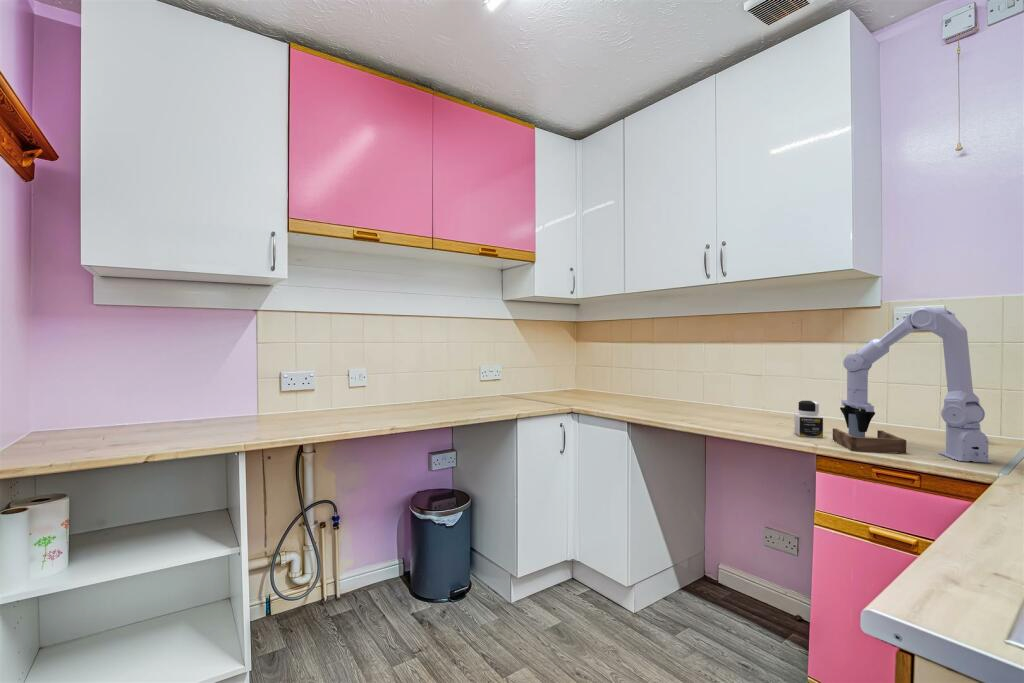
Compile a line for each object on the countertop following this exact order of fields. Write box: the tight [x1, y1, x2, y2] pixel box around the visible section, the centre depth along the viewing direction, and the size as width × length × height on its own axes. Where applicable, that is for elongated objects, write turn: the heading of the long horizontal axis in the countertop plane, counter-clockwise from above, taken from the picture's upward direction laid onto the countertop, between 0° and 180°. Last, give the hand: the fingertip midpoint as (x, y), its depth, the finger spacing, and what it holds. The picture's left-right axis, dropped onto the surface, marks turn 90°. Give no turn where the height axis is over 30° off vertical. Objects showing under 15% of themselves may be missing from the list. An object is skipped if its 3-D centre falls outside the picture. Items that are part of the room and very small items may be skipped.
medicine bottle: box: [793, 400, 824, 438], centre depth 170 cm, size 7×7×12 cm
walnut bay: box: [832, 427, 907, 454], centre depth 152 cm, size 15×14×4 cm
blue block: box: [848, 414, 866, 438], centre depth 164 cm, size 4×4×7 cm
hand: (856, 430), depth 164 cm, fingers closed on blue block, 6 cm apart
